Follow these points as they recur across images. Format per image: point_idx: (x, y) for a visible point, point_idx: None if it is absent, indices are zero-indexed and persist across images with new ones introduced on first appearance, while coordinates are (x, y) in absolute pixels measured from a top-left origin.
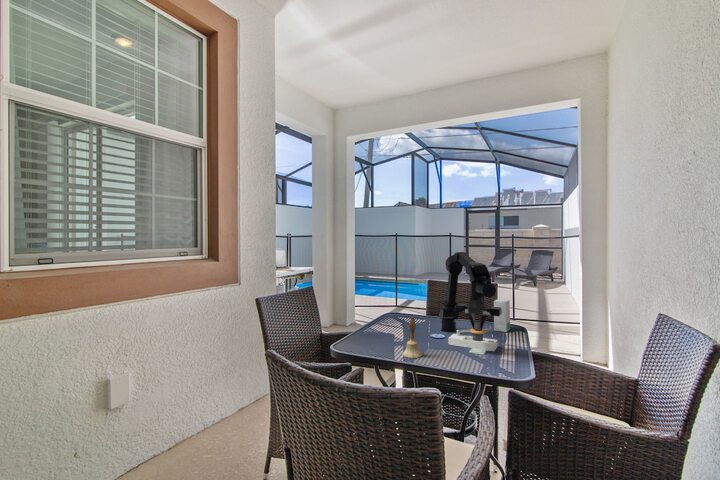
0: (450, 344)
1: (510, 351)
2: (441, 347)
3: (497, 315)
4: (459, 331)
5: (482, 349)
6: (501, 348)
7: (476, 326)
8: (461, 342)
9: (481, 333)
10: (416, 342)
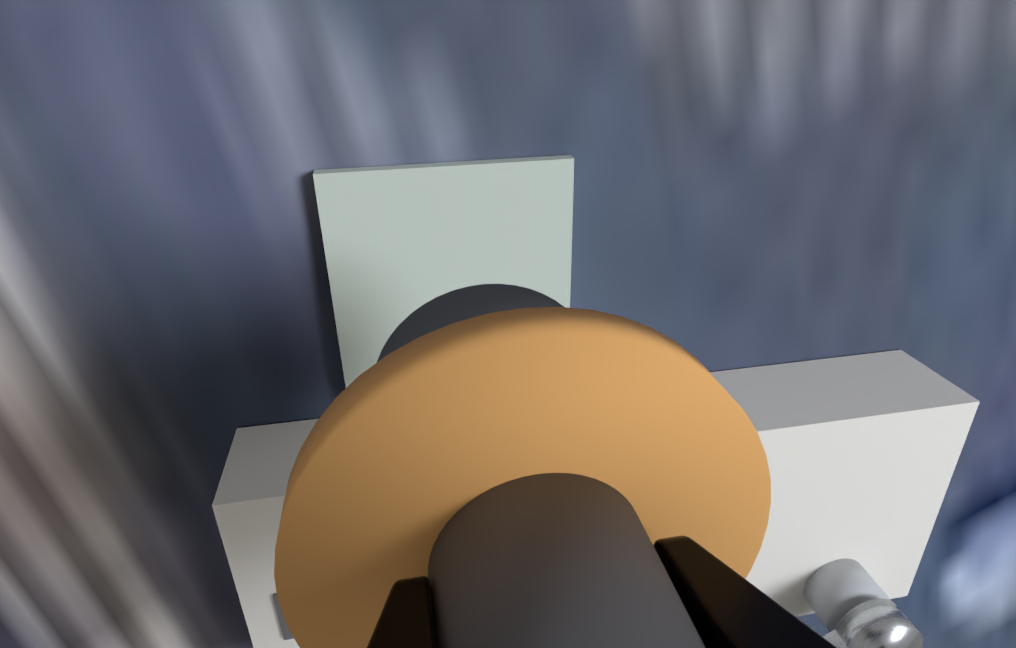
0: (876, 353)
1: (37, 561)
2: (997, 163)
3: None
4: (869, 624)
5: None
6: (208, 595)
7: (604, 604)
8: (756, 403)
9: (349, 399)
10: None
